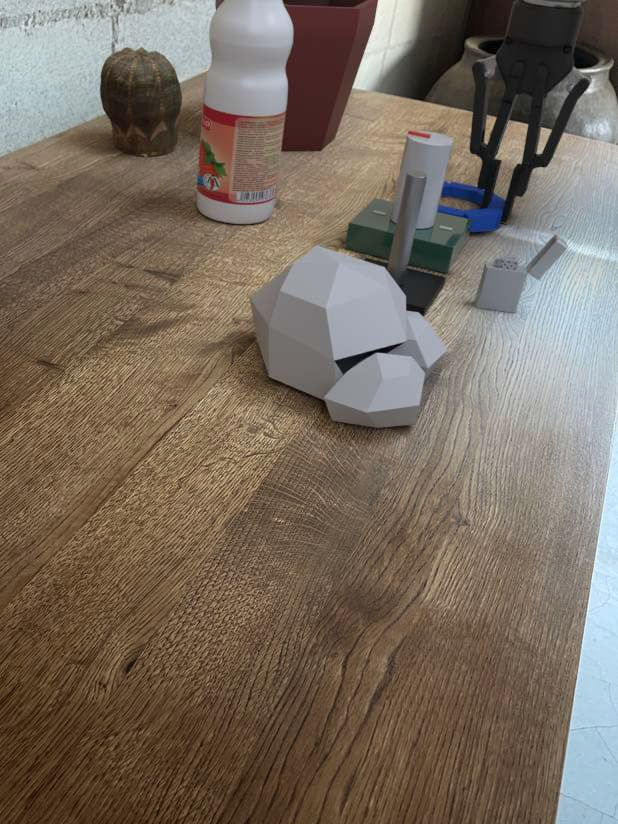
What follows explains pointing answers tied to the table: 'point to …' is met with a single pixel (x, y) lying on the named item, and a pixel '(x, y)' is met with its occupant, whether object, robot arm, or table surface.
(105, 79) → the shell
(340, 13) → the bucket
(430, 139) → the tap knob
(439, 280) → the peg stand
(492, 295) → the lighter
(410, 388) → the rock
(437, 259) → the panel
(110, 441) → the table surface
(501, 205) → the ring
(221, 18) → the fruit juice
